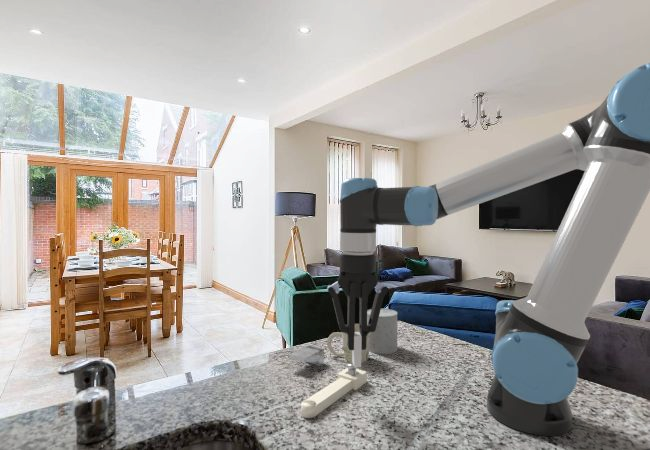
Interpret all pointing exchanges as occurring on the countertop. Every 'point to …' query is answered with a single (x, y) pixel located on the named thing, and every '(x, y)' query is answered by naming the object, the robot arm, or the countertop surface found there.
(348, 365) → the pintle
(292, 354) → the keeper
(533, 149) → the robot arm
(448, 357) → the countertop surface
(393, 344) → the gray cylinder
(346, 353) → the mug
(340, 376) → the link
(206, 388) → the countertop surface
